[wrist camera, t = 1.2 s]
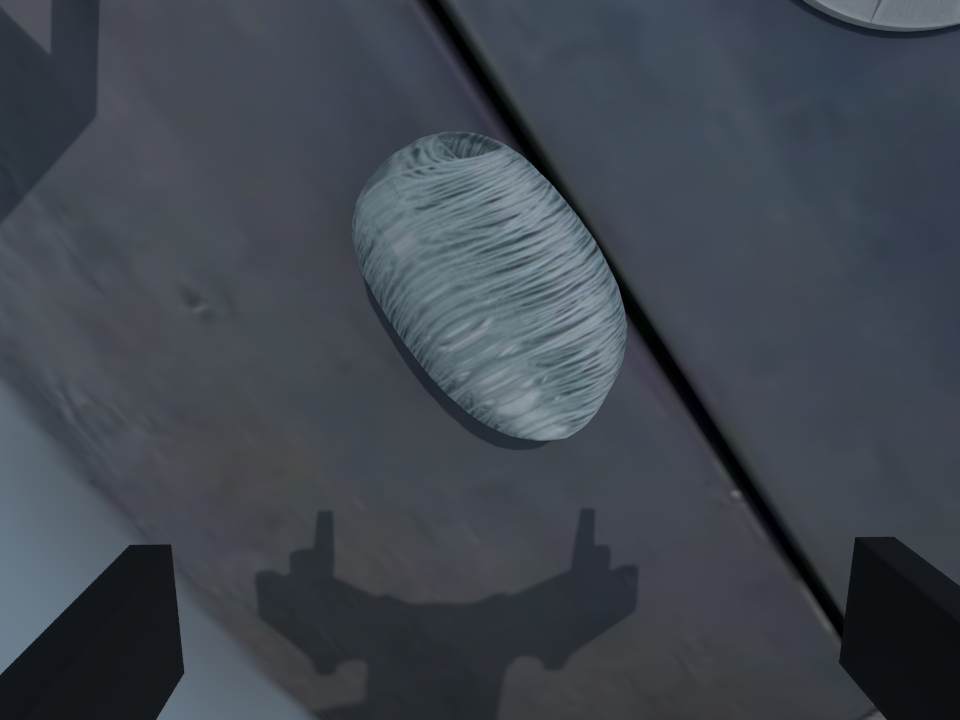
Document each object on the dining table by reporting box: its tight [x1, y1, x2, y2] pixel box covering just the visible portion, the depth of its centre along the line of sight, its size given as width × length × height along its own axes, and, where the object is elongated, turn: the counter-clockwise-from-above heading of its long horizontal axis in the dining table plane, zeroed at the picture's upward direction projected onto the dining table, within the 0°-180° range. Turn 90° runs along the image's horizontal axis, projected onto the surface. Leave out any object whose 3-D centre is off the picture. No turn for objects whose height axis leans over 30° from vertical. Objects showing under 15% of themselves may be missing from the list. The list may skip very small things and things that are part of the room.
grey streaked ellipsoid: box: [351, 132, 627, 441], centre depth 29 cm, size 14×10×10 cm
